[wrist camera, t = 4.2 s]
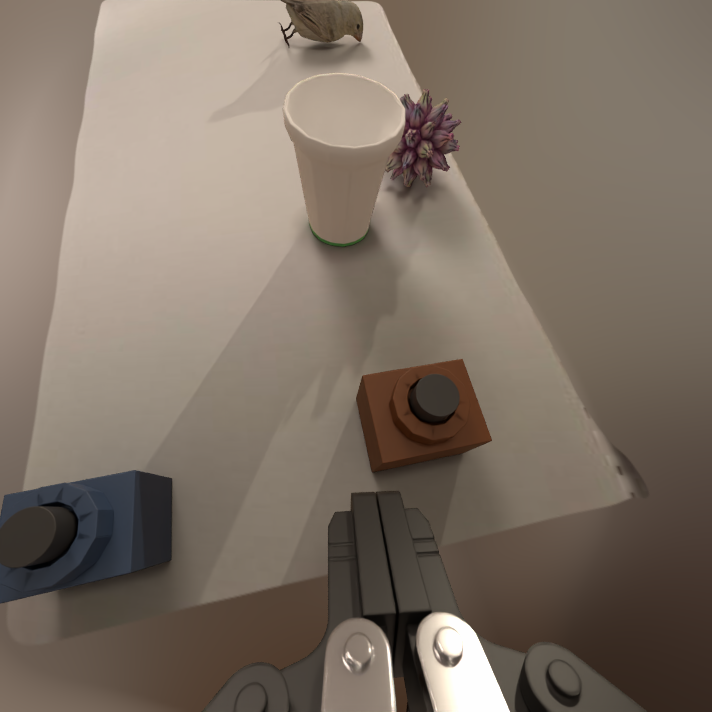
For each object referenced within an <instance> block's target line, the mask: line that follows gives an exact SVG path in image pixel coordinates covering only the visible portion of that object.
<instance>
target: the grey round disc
mask: <svg viewBox="0 0 712 712" xmlns="http://www.w3.org/2000/svg"><path fill="white" fill-rule="evenodd" d="M459 400H460V396H459V391H458V388H457V387H456V385H455V384H454V382H453V381H452V380H450V379H449V378H448V377H446V376H444V375H440V374H430V375H427V376H425V377H423V378H422V379H421V380H420V381H419V382H418V384H417V385H416V386H415V388H414V389H413V391H412V393H411V396H410V404H411V407H412V409H413V411H414V413H415V414H416V415H417V416H418V417H419V418H420V419H422V420H424V421H427V422H431V423H435V422H440V421H442V420H444V419H445V418H447V417H448V416H449V415H450V414H452V413H453V412H454V411H455V410H456V409H457V407H458V405H459Z"/></svg>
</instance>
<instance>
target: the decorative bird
mask: <svg viewBox="0 0 712 712" xmlns="http://www.w3.org/2000/svg"><path fill="white" fill-rule="evenodd" d="M281 1H282V2H284V3H286V9H287V11H288V13H289V16H290V18H291V23H290V25H289V27H288V28H286V29H284V30H283V27H282V25H281V24H280V25H281V31H282V33H283V35H284V39H285V42H286V43H287V44H288V46H289V43H288V41H287V39H289V38H291V37H292V36H293V34H294V33H296V32H298V33H299V34H300V35H301V36H302V37H304V38H308V39H311V40H314V41H321V42H327V43H328V42H332V41H336V40H339V39H340V38H342V37H343V36H344V35H351V36H353V37H354V38H355V39H357V40H358V41H359V42H361V39H362V33H363V19H362V15H361V12H360V10H359V8H358V6H357V5H356V4H354V3H353V2H350V1H336V0H281ZM278 23H279V22H278ZM291 25H294V26H295V29H294V30H293V32H292V34H291V35H290V36H288V37H287V38H286V34H285V31H287V30H288V29H289V28H290V27H291Z"/></svg>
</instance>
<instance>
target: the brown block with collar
mask: <svg viewBox="0 0 712 712" xmlns="http://www.w3.org/2000/svg"><path fill="white" fill-rule="evenodd" d="M430 374H440V375H444V376H446V377H448V378H449V379H450V380H452V381H453V382H454V384H455V385H456V387H457V388H458V391H459V396H460V400H459V405H458V407H457V409H456V410H455V411H454V412H453V413H452V414H450V415H449V416H448V417H447V418H445V419H444V420H442V421H440V422H435V423H431V422H427V421H424V420H422V419H420V418H419V417H418V416H417V415H416V414H415V413H414V411H413V409H412V407H411V404H410V396H411V393H412V391H413V389H414V388H415V386H416V385H417V384H418V382H419V381H420V380H421V379H422V378H423V377H425V376H427V375H430ZM356 400H357V405H358V410H359V414H360V419H361V424H362V428H363V433H364V437H365V442H366V447H367V451H368V456H369V461H370V465H371V470H372V472H377V471H382V470H387V469H391V468H396V467H401V466H405V465H410V464H415V463H419V462H424V461H429V460H433V459H438V458H443V457H447V456H452V455H457V454H461V453H464V452H467V451H469V450H471V449H474V448H476V447H479V446H481V445H483V444H486V443H488V442H490V441H492V439H491V436H490V434H489V431H488V428H487V425H486V422H485V420H484V417H483V414H482V411H481V409H480V406H479V403H478V400H477V398H476V395H475V392H474V389H473V387H472V384H471V381H470V378H469V376H468V373H467V370H466V367H465V364H464V362H463V359H458V360H452V361H446V362H440V363H434V364H428V365H422V366H416V367H410V368H404V369H398V370H392V371H386V372H380V373H374V374H368V375H363V376H362V379H361V383H360V386H359V390H358V394H357V397H356Z"/></svg>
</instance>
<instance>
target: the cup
mask: <svg viewBox="0 0 712 712" xmlns="http://www.w3.org/2000/svg"><path fill="white" fill-rule="evenodd" d="M283 115H284V123H285V127H286V129H287V132H288V134H289V136H290V138H291V141H292V142H293V143H294V148H295V153H296V158H297V163H298V168H299V173H300V178H301V183H302V188H303V193H304V199H305V204H306V209H307V214H308V219H309V225H310V228H311V230H312V232H313V234H314V235H315V236H316V237H317V238H318V239H319V240H320V241H322V242H324V243H327V244H330V245H333V246H342V247H344V246H349V245H353V244H356V243H357V242H359V241H361V240H362V239H364V237H365V236H366V234H367V232H368V230H369V224H370V219H371V216H372V212H373V209H374V205H375V202H376V199H377V195H378V192H379V189H380V185H381V182H382V178H383V175H384V172H385V168H386V165H387V162H388V158H389V156H390V155H391V154H392V153H393V152H394V150H395V149H396V147H397V145H398V144H399V142H400V141H401V139H402V135H403V131H404V127H405V108H404V106H403V105H402V103H401V102H400V100H399V99H398V97H397V95H396V94H395V93H393V92H392V91H391V90H389V89H388V88H386V87H385V86H384V85H382V84H381V83H379V82H376V81H374V80H371V79H368V78H365V77H362V76H359V75H351V74H344V73H331V74H322V75H315V76H313V77H310V78H308V79H305V80H303V81H300V82H298V83H297V84H296V85H295V86H294V87H293V88H292V89H291V90H290V91H289V92H288V93H287V94H286V98H285V102H284V106H283Z"/></svg>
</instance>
